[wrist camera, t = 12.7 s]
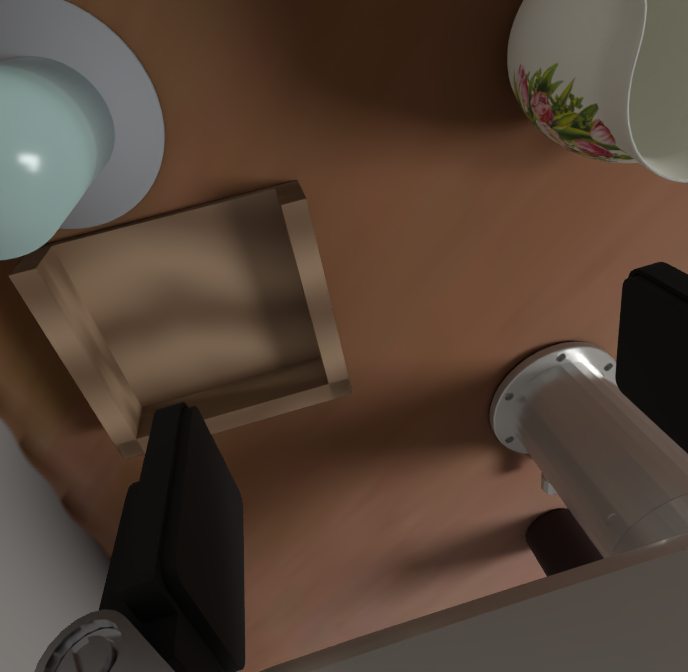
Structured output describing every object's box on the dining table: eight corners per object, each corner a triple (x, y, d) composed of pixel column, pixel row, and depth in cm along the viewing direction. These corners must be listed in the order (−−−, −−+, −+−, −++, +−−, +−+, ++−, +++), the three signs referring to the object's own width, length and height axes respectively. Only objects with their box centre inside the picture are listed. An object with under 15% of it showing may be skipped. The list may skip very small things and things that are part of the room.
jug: (58, -13, 25) (-34, -30, 16) (134, 168, 30) (97, 236, 21) (-79, 17, 24) (-256, 17, 15) (21, 196, 29) (-67, 279, 20)
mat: (194, 197, 32) (194, 200, 31) (1, 247, 31) (-3, 251, 30) (110, -36, 25) (107, -37, 25) (-140, 19, 24) (-148, 19, 24)
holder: (341, 363, 41) (352, 393, 38) (131, 422, 40) (124, 459, 36) (297, 179, 33) (306, 198, 29) (30, 248, 31) (8, 275, 28)
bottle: (587, 506, 59) (732, 697, 43) (563, 544, 62) (688, 735, 46) (538, 507, 57) (669, 708, 41) (515, 547, 60) (628, 747, 44)
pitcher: (582, 203, 38) (739, 284, 26) (411, 29, 29) (534, 38, 18) (703, 71, 34) (944, 99, 23) (549, -168, 26) (808, -311, 15)
